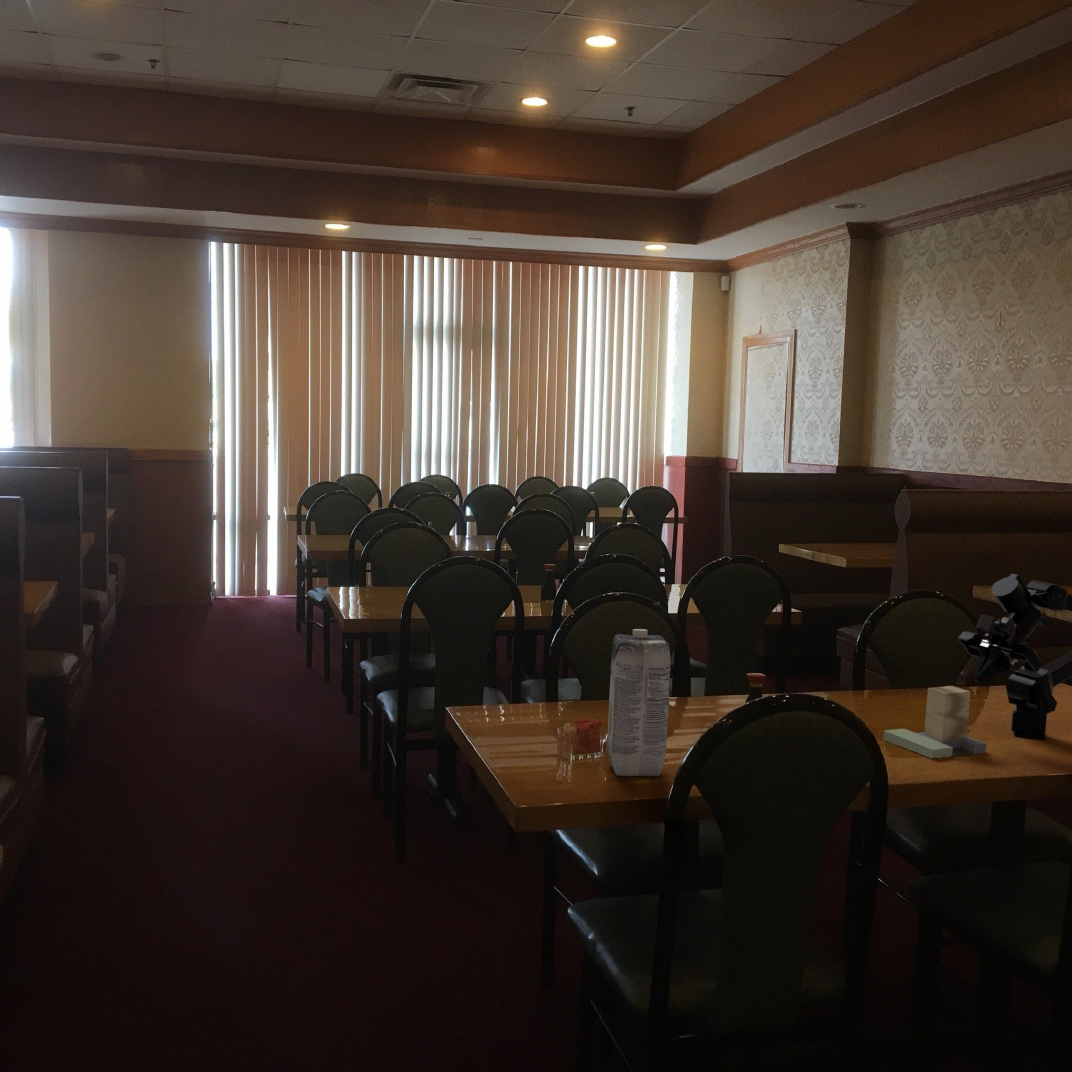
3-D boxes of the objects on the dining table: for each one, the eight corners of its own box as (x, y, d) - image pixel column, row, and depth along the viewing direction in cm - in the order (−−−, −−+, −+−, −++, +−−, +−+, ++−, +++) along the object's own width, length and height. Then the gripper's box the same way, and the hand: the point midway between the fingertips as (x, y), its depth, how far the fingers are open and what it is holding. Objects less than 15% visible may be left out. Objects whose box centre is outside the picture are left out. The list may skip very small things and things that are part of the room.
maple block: (948, 730, 236) (952, 685, 235) (966, 737, 231) (970, 691, 230) (924, 733, 233) (927, 688, 232) (941, 740, 229) (945, 693, 227)
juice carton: (667, 778, 203) (674, 636, 200) (611, 778, 202) (618, 635, 199) (658, 763, 212) (665, 627, 209) (604, 762, 211) (611, 625, 208)
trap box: (936, 733, 241) (936, 724, 240) (986, 752, 228) (986, 743, 228) (883, 739, 234) (884, 730, 234) (931, 759, 222) (932, 749, 222)
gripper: (967, 595, 243) (926, 646, 240) (1037, 610, 226) (993, 665, 223) (990, 628, 247) (950, 679, 244) (1060, 645, 230) (1018, 700, 227)
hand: (976, 680), depth 234 cm, fingers closed
